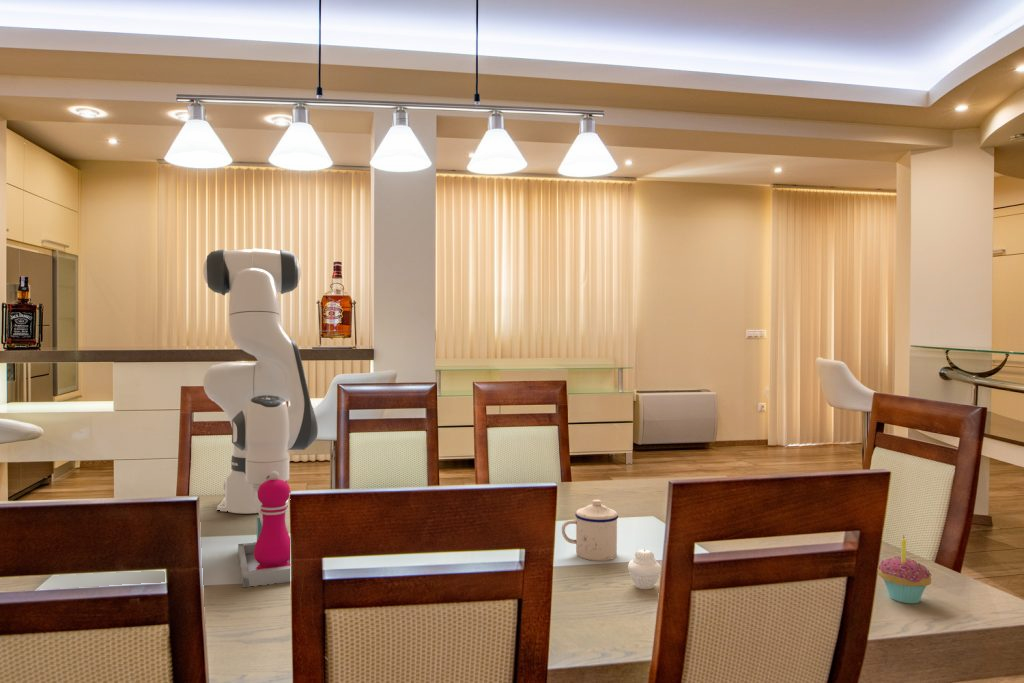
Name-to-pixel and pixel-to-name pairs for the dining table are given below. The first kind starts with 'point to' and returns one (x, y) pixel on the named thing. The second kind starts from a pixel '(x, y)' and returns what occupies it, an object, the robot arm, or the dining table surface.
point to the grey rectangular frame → (263, 574)
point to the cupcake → (904, 577)
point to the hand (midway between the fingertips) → (267, 536)
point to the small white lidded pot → (644, 569)
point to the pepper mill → (273, 524)
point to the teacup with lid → (594, 532)
